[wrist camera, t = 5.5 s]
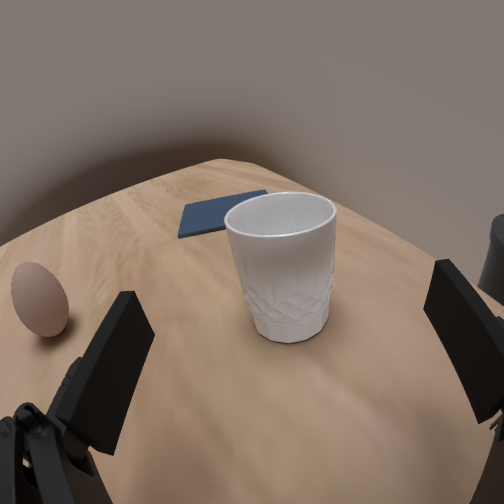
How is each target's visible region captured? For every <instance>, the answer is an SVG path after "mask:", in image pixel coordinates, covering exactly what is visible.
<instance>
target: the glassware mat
mask: <svg viewBox="0 0 504 504" xmlns="http://www.w3.org/2000/svg"><path fill="white" fill-rule="evenodd" d="M266 194H268V193H267V192H266V190H259V191H253V192H248V193H242V194H237V195H232V196H226V197H221V198H216V199H211V200H206V201H201V202H196V203H192V204H187V205H185V208H184V211H183V215H182V219H181V224H180V228H179V232H178V238H182V237H187V236H192V235H197V234H202V233H207V232H212V231H217V230H222V229H226V226H225V222H224V218H225V215H226V214H227V212H228V211H229V210H230V209H231V208H233V207H234V206H236V205H237V204H239V203H241V202H243V201H246V200H248V199H251V198H254V197H258V196H262V195H266Z"/></svg>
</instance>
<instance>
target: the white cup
mask: <svg viewBox="0 0 504 504" xmlns="http://www.w3.org/2000/svg"><path fill="white" fill-rule="evenodd" d="M336 212H337V210H336V206H335V205H334V203H333V202H332V201H330V200H329V199H327V198H325V197H322V196H319V195H316V194H311V193H304V192H280V193H272V194H266V195H262V196H258V197H254V198H251V199H248V200H246V201H243V202H241V203H239V204H237V205H236V206H234V207H233V208H231V209H230V210H229V211H228V212H227V214H226V215H225V218H224V222H225V226H226V230H227V234H228V238H229V242H230V246H231V249H232V253H233V257H234V261H235V265H236V269H237V273H238V277H239V280H240V284H241V287H242V290H243V293H244V297H245V300H246V303H247V305H248V307H249V311H250V315H251V319H252V322H253V324H254V326H255V328H256V330H257V332H258V333H260V334H261V335H263V336H264V337H266V338H268V339H269V340H271V341H277V342H283V343H293V342H298V341H303V340H307V339H309V338H310V337H312V336H313V335H315V334H317V333H318V332H320V331H321V330H322V328H323V326H324V325H325V323H326V321H327V319H328V314H329V301H330V295H331V290H332V282H333V272H334V258H335V238H336Z"/></svg>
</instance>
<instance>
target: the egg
mask: <svg viewBox="0 0 504 504" xmlns="http://www.w3.org/2000/svg"><path fill="white" fill-rule="evenodd" d="M11 294H12V299H13V305H14V308H15V310H16V312H17V314H18V316H19V318H20V320H21V321H22V322H23V324H24V325H25V326H26V327H27V328H28V329H29V330H30V331H32V332H33V333H35V334H37V335H40V336H44V337H53V336H56V335H58V334H59V333H61V332H62V331H63V329H64V328H65V326H66V324H67V320H68V316H69V305H68V300H67V296H66V294H65V292H64V289H63V288H62V286H61V284H60V283H59V281H58V280H57V278H56V277H55V276H54V275H53V274H52V273H51V272H49V271H48V270H47V269H46V268H44V267H43V266H41V265H39V264H37V263H34V262H25V263H22V264H20V265H19V266H18V267H17V268H16V270H15V272H14V274H13V277H12V282H11Z"/></svg>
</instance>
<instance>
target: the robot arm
mask: <svg viewBox="0 0 504 504" xmlns="http://www.w3.org/2000/svg"><path fill="white" fill-rule="evenodd" d="M423 310H424V311H425V313H426V315H427V317H428V318H429V320H430V322H431V324H432V325H433V327H434V329H435V331H436V333H437V335H438V336H439V338H440V340H441V342H442V344H443V346H444V348H445V350H446V352H447V354H448V356H449V358H450V360H451V362H452V364H453V366H454V368H455V370H456V372H457V374H458V376H459V379H460V381H461V383H462V385H463V388H464V390H465V392H466V394H467V397H468V399H469V402H470V404H471V406H472V409H473V411H474V414H475V416H476V419H477V422H478V424H480V423H482V422H484V421H486V420H488V419H490V418H492V417H493V416H494V415H495V414H496V413H497V412H498V411H499V410H500V409H501V411H502V414H501V415H500V416H499V417H498V418H497V419H496V420H495V421H494V422H493V423H492V424H491V426H490V429H493V428H494V427H495V426H496V425H497V424H498V425H497V427H496V428H495V430H494V431H496V433H495V436H494V440H493V443H492V447H491V450H490V453H489V456H488V459H487V462H486V465H485V468H484V470H483V473H482V476H481V478H480V481H479V483H478V485H477V488H476V490H475V492H474V495H473V497H472V499H471V501H470V503H469V504H504V320H503V319H502V318H501V317H500V316H498V317H495V316H494V314H493V313H492V312H491V310H490V309H489V308H488V306H487V305H486V304H485V302H484V301H483V300H482V298H481V297H480V296H479V294H478V293H477V292H476V291H475V289H474V288H473V287H472V286H471V284H470V283H469V282H468V281H467V280H466V278H465V277H464V276H463V275H462V274H461V273H460V271H459V270H458V269H457V268H456V267H455V266H454V264H453V263H452V262H451V261H450V260H449V259H444V260H437V261H435V266H434V270H433V274H432V279H431V283H430V286H429V290H428V294H427V298H426V301H425V305H424V308H423ZM154 336H155V334H154V332H153V330H152V328H151V326H150V324H149V322H148V319H147V317H146V315H145V313H144V311H143V309H142V307H141V304H140V302H139V300H138V298H137V296H136V293H135V291H122V292H120V293H119V295H118V296H117V298H116V300H115V301H114V303H113V305H112V306H111V308H110V309H109V311H108V313H107V315H106V316H105V318H104V320H103V321H102V323H101V325H100V326H99V328H98V330H97V332H96V333H95V335H94V337H93V339H92V341H91V342H90V344H89V346H88V348H87V350H86V352H85V353H84V355H83V357H78V358H77V359H76V360H75V361H74V362H73V363H72V364H71V366H70V367H69V369H68V371H67V373H66V375H65V376H66V377H65V378H64V379H63V381H62V383H61V384H62V385H61V386H60V387H59V389H58V391H57V393H56V395H55V397H54V399H53V401H52V403H51V405H50V407H49V410H48V412H47V413H46V415H44V414H43V413H42V412H41V411H40V410H39V409H38V408H37V407H36V406H35V405H34V404H33V403H29V402H27V403H23V404H22V405H20V406H19V407H18V408H17V410H16V411H15V413H14V416H13V418H11V417H8V416H7V417H4V418H3V419H1V420H0V504H113V503H112V501H111V499H110V497H109V495H108V493H107V490H106V488H105V486H104V484H103V482H102V479H101V477H100V475H99V472H98V470H97V468H96V465H95V463H94V460H93V457H92V455H91V453H90V452H89V451H88V447H89V445H90V446H91V447H92V448H94V449H95V450H97V451H98V452H102V453H105V454H108V455H112V456H114V452H115V449H116V446H117V442H118V439H119V436H120V433H121V429H122V426H123V423H124V420H125V417H126V414H127V411H128V408H129V405H130V402H131V399H132V396H133V393H134V390H135V388H136V385H137V382H138V379H139V376H140V374H141V371H142V368H143V365H144V363H145V360H146V357H147V355H148V352H149V349H150V347H151V344H152V342H153V339H154ZM23 459H25V460H26V461H28V462H29V467H26V466H24V465H23Z"/></svg>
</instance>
